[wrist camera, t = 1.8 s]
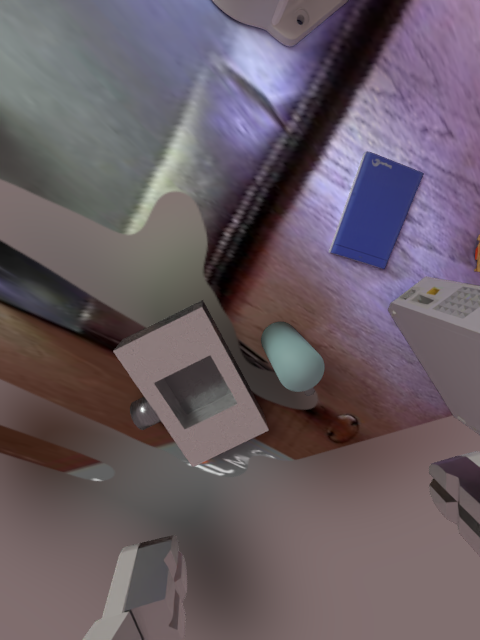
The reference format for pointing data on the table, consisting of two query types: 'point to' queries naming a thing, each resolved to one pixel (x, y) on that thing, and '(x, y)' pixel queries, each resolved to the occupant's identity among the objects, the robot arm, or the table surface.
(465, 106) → the table surface
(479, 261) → the vessel
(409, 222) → the table surface
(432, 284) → the game console
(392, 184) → the hard drive
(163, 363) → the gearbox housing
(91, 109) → the table surface
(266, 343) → the toggle switch lever
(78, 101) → the table surface
